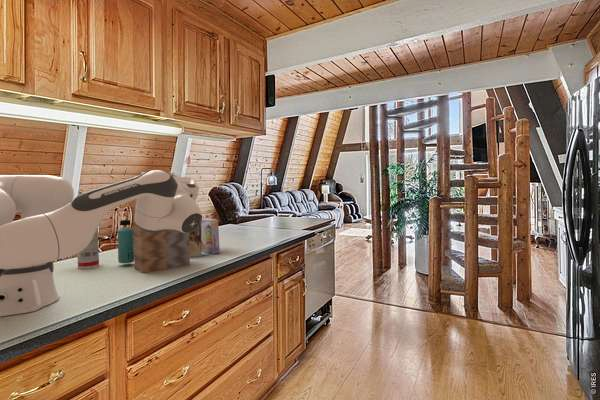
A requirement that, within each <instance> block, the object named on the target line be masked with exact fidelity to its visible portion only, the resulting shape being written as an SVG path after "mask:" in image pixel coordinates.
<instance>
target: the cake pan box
mask: <svg viewBox="0 0 600 400" xmlns="http://www.w3.org/2000/svg"><path fill="white" fill-rule="evenodd" d="M219 231H220V229H219V219H218V218H210V217H202V221H201V246H202V253H205V254H206V253H207V254H210V255H211V254H212V255H216V254H220V252H221V251H220V234H219Z"/></svg>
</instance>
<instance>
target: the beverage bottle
mask: <svg viewBox="0 0 600 400" xmlns="http://www.w3.org/2000/svg"><path fill="white" fill-rule="evenodd" d="M119 225H120V226H125V227H120V228H118V229H117V255H118V256H117V260H118V263H119V264H130V263H134V229H133V227H131V220H130V219H121V220H120V221H119ZM126 226H127V227H126ZM129 226H130V227H129Z"/></svg>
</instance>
